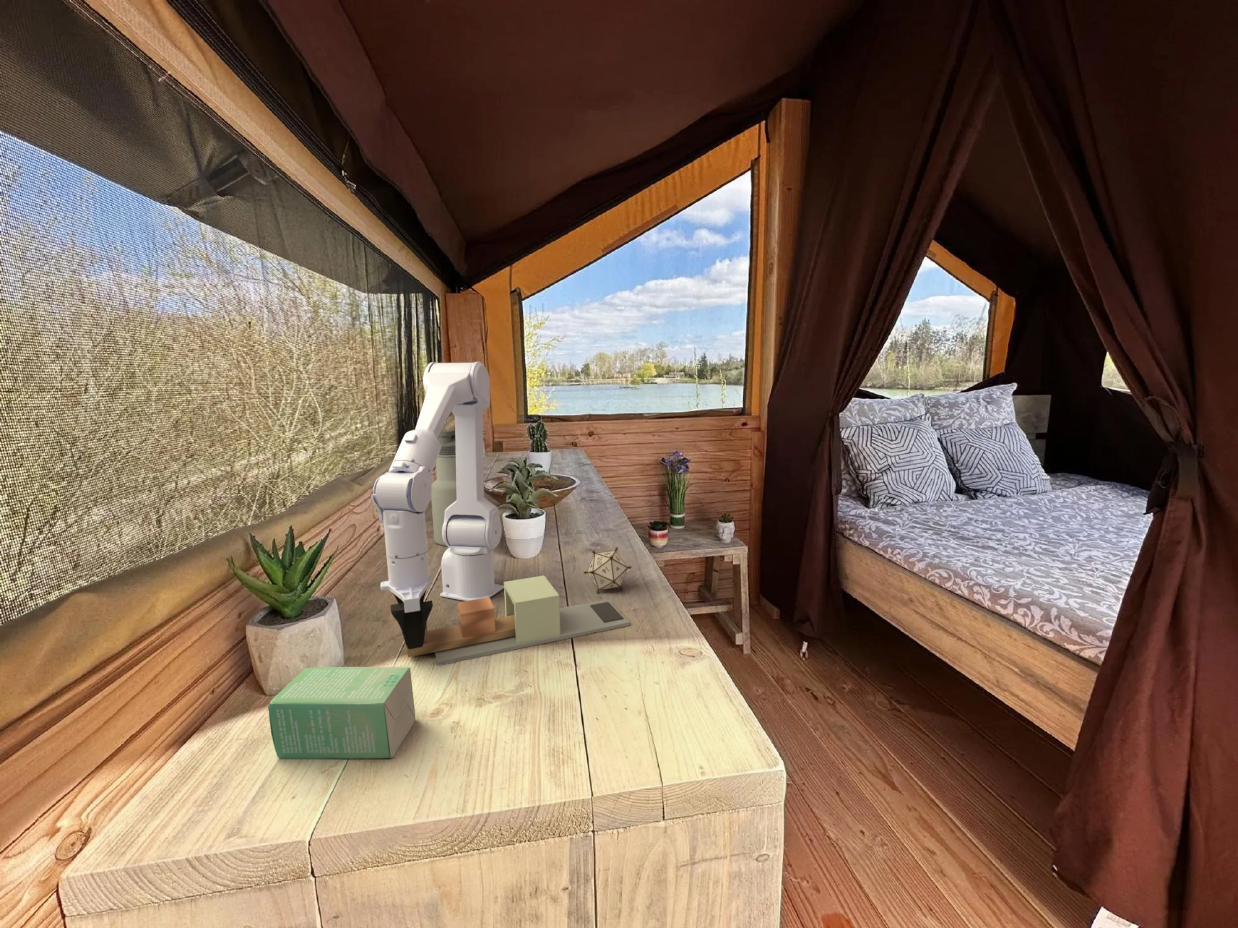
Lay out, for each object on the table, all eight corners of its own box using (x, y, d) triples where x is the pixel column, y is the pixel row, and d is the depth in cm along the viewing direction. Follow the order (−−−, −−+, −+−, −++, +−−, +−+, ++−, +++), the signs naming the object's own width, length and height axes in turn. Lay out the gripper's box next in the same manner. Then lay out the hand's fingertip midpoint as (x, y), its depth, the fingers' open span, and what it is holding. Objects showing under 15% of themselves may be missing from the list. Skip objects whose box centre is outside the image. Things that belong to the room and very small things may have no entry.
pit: (604, 622, 92) (604, 621, 91) (590, 606, 98) (590, 605, 98) (623, 618, 93) (623, 617, 93) (608, 602, 99) (608, 601, 99)
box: (310, 717, 68) (303, 663, 67) (417, 719, 68) (412, 665, 67) (272, 760, 61) (264, 700, 60) (391, 762, 61) (385, 702, 59)
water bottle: (445, 533, 143) (438, 427, 138) (481, 534, 142) (475, 427, 137) (427, 546, 133) (418, 432, 128) (465, 547, 132) (458, 432, 127)
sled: (407, 657, 81) (404, 621, 80) (406, 641, 85) (403, 607, 84) (545, 629, 89) (544, 597, 88) (537, 617, 93) (536, 585, 92)
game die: (614, 610, 106) (624, 583, 99) (574, 592, 107) (581, 564, 100) (630, 574, 112) (640, 547, 105) (592, 558, 113) (600, 529, 106)
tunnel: (517, 647, 85) (515, 602, 84) (505, 622, 93) (503, 581, 92) (560, 638, 88) (559, 595, 86) (545, 615, 96) (544, 575, 94)
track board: (437, 665, 80) (436, 661, 80) (431, 635, 89) (431, 631, 89) (629, 625, 92) (629, 622, 92) (607, 602, 101) (607, 599, 101)
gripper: (378, 541, 86) (385, 621, 88) (376, 572, 72) (385, 666, 75) (425, 535, 88) (431, 613, 91) (432, 565, 75) (439, 655, 78)
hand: (414, 636), depth 83 cm, fingers open, 6 cm apart
